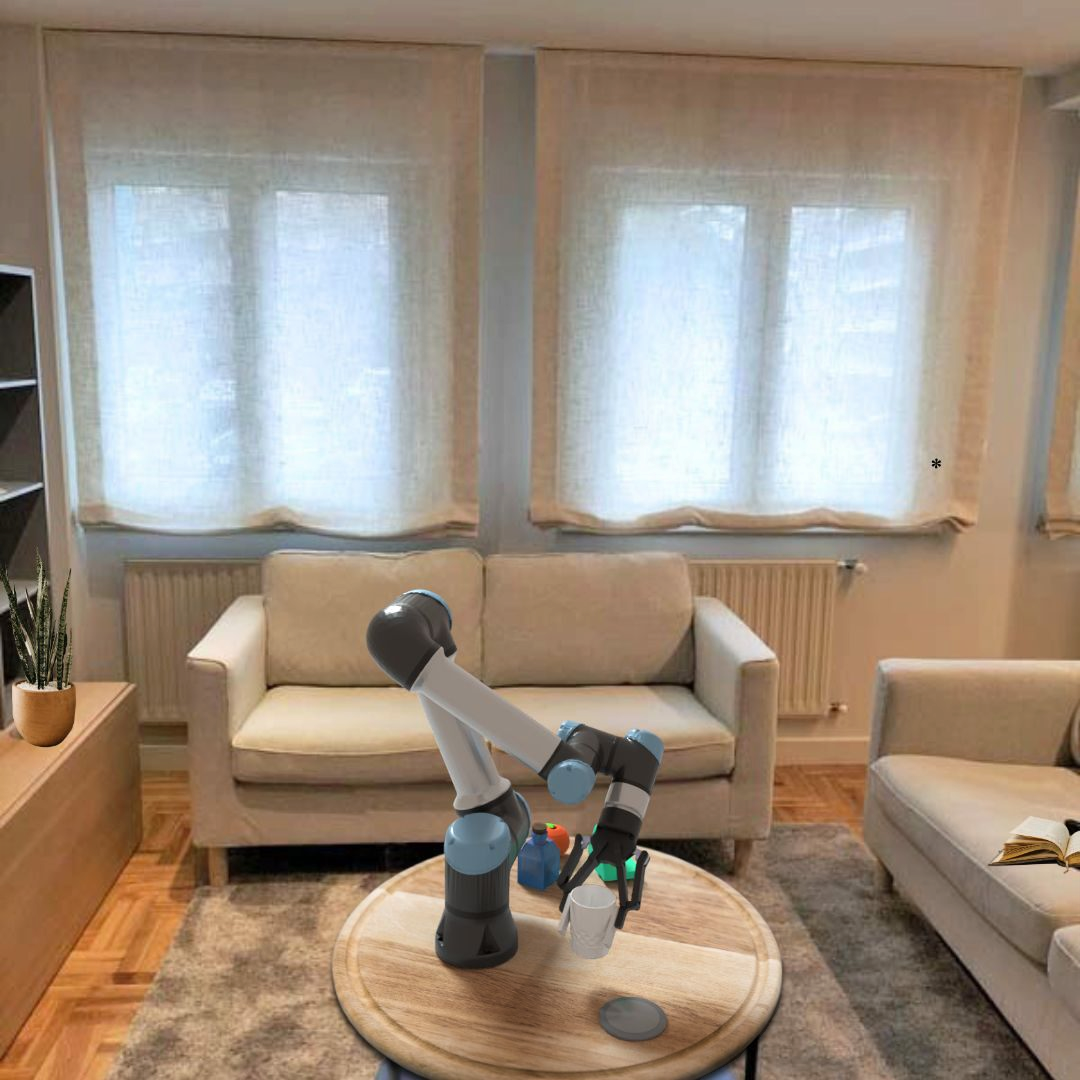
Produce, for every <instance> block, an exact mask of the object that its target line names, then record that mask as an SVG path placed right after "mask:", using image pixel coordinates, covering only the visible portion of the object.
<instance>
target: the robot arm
mask: <svg viewBox="0 0 1080 1080" xmlns="http://www.w3.org/2000/svg"><path fill="white" fill-rule="evenodd" d="M453 623H454V622H453V613H452V610H451V608H450V606H449V605H448V603H447V602H446V600H445V599H443V597H442V596H440V595H439V594H437V593H435V592H433V591H430V590H427V589H412V590H409V591H407V592H405V593H404V592H403V593H402V594H400V595H398V596H396V597H395V598H394V599H393V600H392V601H391V602H390V603H389V604H387V605H386V606H385V607H383V608H381V609H380V610H379V611H377V612H376V613H375V614H374V615H373V616H372V618H371V619H370V620H369V623H368V626H367V628H366V633H365V643H366V649H367V650H368V654H369V655H370V657H371V659H372V660H373V661H374V663H375V664H376V665H377V667H378V668H379V669H380V670H381V671H382V672H383V673H384V674H386V676H388V677H389V678H390V679H391V680H392V681H394V682H395V683H397V684H398V685H399V686H401V688H403V689H405V690H406V691H408V692H409V693H410V694H413V693H416V695H417V698H418V700H419V703H420V705H421V707H422V709H423V712H424V714H425V717H426V720H427V722H428V725H429V727H430V730H431V731H432V735H433V737H434V739H435V742H436V744H437V747H438V750H439V752H440V754H441V757H442V759H443V762H444V764H445V766H446V768H447V771H448V774H449V777H450V779H451V781H452V783H453V787H454V789H455V791H456V797H455V799H454V800H453V801H454V802H453V804H452V805H453V808H454V810H455V813H456V815H457V819H455V820H454V821H453V822H452V823H450V825H449V827H448V828H447V830H446V832H445V839H444V844H443V854H444V908H443V911H442V913H441V917H440V920H439V923H438V924H437V928H436V931H435V935H434V950H435V952H436V954H437V957H439V958H440V959H441V960H442V961H444V962H445V963H447V964H449V965H451V966H454V967H457V968H460V969H467V970H468V969H469V970H484V969H490V968H495V967H497V966H501V965H503V964H505V963H507V962H508V961H510V960H511V959H512V958H514V956H516V954H517V952H518V949H519V931H518V929H517V926H516V923H515V920H514V916H513V914H512V910H511V908H510V881H511V879H510V877H511V870H512V867H513V865H514V863H515V862H516V860H517V859H518V854H519V852H520V850H521V849H522V847H523V846H524V844H525V842H527V839H528V837H529V835H530V831H531V826H532V824H531V823H532V814H531V810H530V806H529V804H528V803H527V801H526V799H525V798H524V797H523V796H522V795H521V793H519V792H516V791H515V790H514V789H513V786H512V783H511V781H510V780H509V779H507V778H506V777H505V778H504V777H503V776H500V775H499V772H498V769H497V767H496V765H495V762H494V760H493V757H492V754H491V752H490V750H489V747H488V744H487V743H486V740H487V741H489V742H491V743H492V744H493V745H495V746H496V747H498V748H499V749H500V750H502V751H503V752H505V753H506V754H507V755H509V756H510V757H512V758H514V759H515V760H516V761H517V762H519V763H520V764H522V765H523V766H525V767H526V768H528V769H529V770H530V771H532V772H533V773H535V774H536V775H537V776H539V777H540V778H542V780H544V781H545V782H547V788H548V791H549V794H550V795H551V796H552V798H553V799H554V800H555V801H557V802H558V803H561V804H564V805H566V806H567V805H568V806H569V805H576V804H577V805H578V804H580V803H582V802H583V801H584V800H585V799H587V797H588V796H589V794H590V792H592V790H593V788H594V786H595V784H596V779H597V776H598V774H600V775H603V776H605V777H610V778H612V779H611V781H610V784H609V788H608V791H607V793H606V797H605V800H604V803H603V806H604V807H603V808H602V809H601V811H600V816H599V817H598V822H597V824H596V825H597V827H596V831H595V832H594V833H593V832H592V833H593V834H591V835H590V836H587V835H585V836H583V835H582V834H581V833H576V834H575V836H574V842H573V843H574V844H573V847H572V849H571V851H570V852H569V855H568V857H567V859H566V861H565V863H564V865H563V867H562V869H561V871H560V872H559V877H558V879H557V881H556V882H555V885H556V886H557V888H558V889H559V890H560V891H562V892H563V894H562V896H561V897H562V898H561V899H560V903H559V905H558V911H559V912H560V914H561V917H560V920H559V923H558V926H557V932H558V933H559V934H560V935H562V936H566V934H567V930H568V927H569V926H570V894H571V891H572V890H573V889H574V888H576V887H578V886H581V885H584V883H585V881H587V879H588V878H589V877H590V875H591V874H592V873H593V872H594V871H595V868H596V867H598V866H599V865H600V863H602V864H610V865H612V866H614V867H616V871H617V880H616V881H617V891H618V901H619V902H618V905H619V906H618V905H616V906H615V907H614V910H613V912H612V915H611V918H610V922H609V925H608V928H607V931H606V935H605V938H604V941H603V944H604V945H605V947H606V948H609V950H611V948H612V946H613V942H614V939H615V935H616V933H617V930H620V931H621V930H622V929H623V928H624V924H625V921H626V919H627V915H628V913H629V912H630V911H636V912H637V911H639V910H640V909H641V904H642V897H643V890H644V882H645V876H646V868H647V867H648V865H649V862H650V861H651V856H650V854H649V852H648V851H647V850H646V849H645V850H641V849H639V848H637V842H638V838H639V835H640V831H641V828H642V826H643V821H642V820H643V819H644V818H645V815H646V812H647V809H648V805H649V803H650V799H651V794H652V792H653V789H654V786H655V784H656V783H655V782H656V779H657V776H658V773H659V771H660V766H661V763H662V759H663V755H664V751H665V745H664V742H663V740H662V738H660V736H658V735H657V734H656V733H653V732H651V731H648V730H645V729H638V728H633V729H630V730H628V731H627V733H626V735H624V737H623V736H618V735H615V734H612V733H609V732H607V731H604V730H600V729H598V728H595V727H592V726H589V725H587V724H585V723H583V722H577V721H576V722H575V721H572V720H569V719H566V720H564V721H563V722H562V723H560V724H561V725H560V726H559V729H558V730H557V731H558V732H557V734H556V733H554V732H553V731H551V730H550V729H549V728H547V727H546V726H544V725H543V724H542V723H540V721H539V722H538V721H537V720H536V719H534V718H533V717H532V716H530V715H529V714H528V713H526V712H524V711H523V710H522V709H520V708H519V707H518V706H516V705H515V704H513V703H512V702H510V701H509V700H507V699H506V697H503V696H502V695H501V694H499V693H498V692H496V691H495V690H493V689H492V688H491V687H489V686H488V685H487V684H485V683H484V682H482V681H481V680H480V679H478V678H477V677H475V676H473V675H472V674H471V673H469V672H468V671H467V670H465V669H464V668H462V667H461V666H460V665H458V664H457V663H455V659H456V656H457V655H458V652H459V650H458V648H457V645H456V643H455V642H456V641H455V639H454V636H453V634H452V630H453V629H452V628H453ZM589 844H591V845H592V848H593V851H592V852H591V853H590V855H589V854H588V856H587V859H586V860H585V861H584V863H583V864H582V865H581V866H580V867H579V868H578V870H577V871H576V872H575V870H576V868H577V866H578V864H579V862H580V860H581V858H582V856H583V853H584V850H586V849H588V846H589ZM634 856H635V857H634ZM631 857H632V858H633V857H634V861H636V862H635V863H636V867H635V875H634V878H633V883H632V890H631V895H630V897H631V898H630V899H629V891H628V879H626V864H625V862H626V861H627V860H629V859H630V858H631ZM574 872H575V874H574ZM573 874H574V875H573Z"/></svg>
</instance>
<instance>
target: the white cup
mask: <svg viewBox="0 0 1080 1080" xmlns="http://www.w3.org/2000/svg"><path fill="white" fill-rule="evenodd" d="M615 906H617V895H616V893H615V892H614V891H613V890H612V889H610V888H609V887H606V886H603V885H599V884H593V883H591V884H582V885H581V886H578V887H576V888H574V889H573V890H572V891H571V894H570V922H569V933H570V937H569V938H570V941H569V945H570V946H569V947H570V949H571V952H572V953H573V954H575V955H576V956H578V957H579V958H582V959H585V960H597V959H603V958H605V957H606V956H607V955H609V951H610V949H609V948H606V947H605V945H604V944H603V941H604V938H605V935H606V931H607V928H608V925H609V922H610V918H611V915H612V912H613V910H614V907H615Z"/></svg>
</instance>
